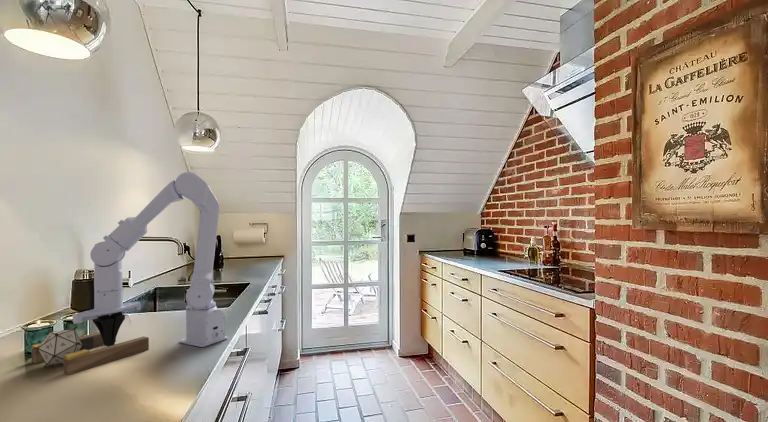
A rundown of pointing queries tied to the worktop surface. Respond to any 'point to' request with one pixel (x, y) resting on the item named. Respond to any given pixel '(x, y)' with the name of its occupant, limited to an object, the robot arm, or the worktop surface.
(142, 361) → the worktop surface
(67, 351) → the game die
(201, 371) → the worktop surface
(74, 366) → the twin wooden rails
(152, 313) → the worktop surface
